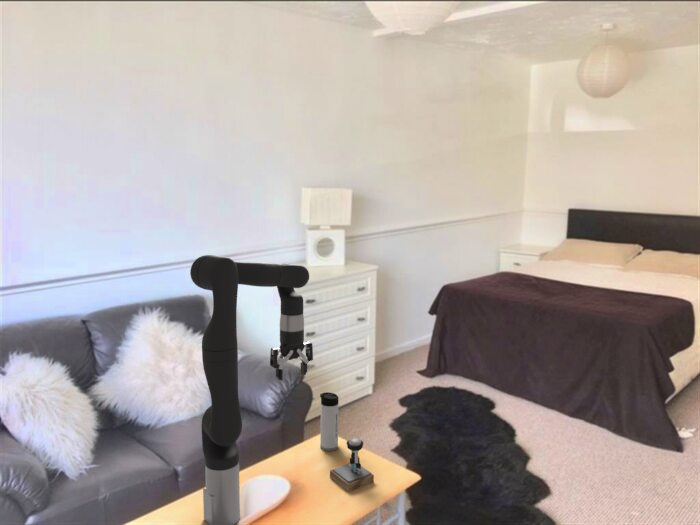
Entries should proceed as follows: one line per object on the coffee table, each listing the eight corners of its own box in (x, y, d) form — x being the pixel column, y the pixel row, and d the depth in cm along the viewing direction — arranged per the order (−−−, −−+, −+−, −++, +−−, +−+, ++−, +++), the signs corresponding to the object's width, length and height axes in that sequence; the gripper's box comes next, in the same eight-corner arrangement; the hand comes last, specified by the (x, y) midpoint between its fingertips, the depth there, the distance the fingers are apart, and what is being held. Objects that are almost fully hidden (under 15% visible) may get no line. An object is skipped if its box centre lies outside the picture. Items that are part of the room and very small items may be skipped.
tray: (348, 492, 173) (348, 483, 173) (329, 477, 181) (330, 468, 181) (373, 481, 179) (373, 473, 179) (354, 468, 187) (354, 460, 187)
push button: (366, 473, 178) (367, 444, 177) (351, 476, 176) (351, 447, 175) (359, 463, 184) (359, 435, 183) (343, 466, 182) (344, 437, 181)
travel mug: (317, 444, 203) (318, 391, 200) (335, 441, 205) (335, 389, 202) (321, 452, 197) (322, 398, 194) (339, 450, 199) (340, 396, 196)
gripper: (277, 333, 168) (277, 385, 171) (317, 326, 176) (317, 376, 179) (265, 327, 174) (266, 377, 177) (305, 321, 182) (304, 369, 185)
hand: (291, 376), depth 178 cm, fingers open, 8 cm apart
